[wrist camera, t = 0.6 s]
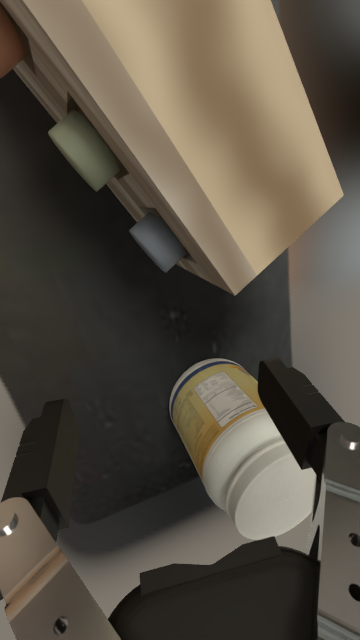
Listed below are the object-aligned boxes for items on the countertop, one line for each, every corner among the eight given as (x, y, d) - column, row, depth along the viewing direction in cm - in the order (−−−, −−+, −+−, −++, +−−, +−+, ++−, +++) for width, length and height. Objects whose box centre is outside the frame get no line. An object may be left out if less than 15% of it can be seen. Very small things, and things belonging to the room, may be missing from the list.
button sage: (94, 192, 22) (100, 190, 18) (49, 139, 20) (45, 124, 16) (114, 174, 22) (124, 168, 18) (71, 119, 20) (72, 100, 16)
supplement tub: (254, 400, 45) (346, 497, 30) (185, 443, 43) (248, 568, 28) (230, 338, 40) (330, 418, 25) (151, 384, 38) (206, 501, 23)
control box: (167, 259, 33) (235, 295, 20) (-35, 10, 21) (-199, -308, 8) (233, 199, 33) (343, 195, 20) (68, -80, 22) (71, -530, 8)
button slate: (157, 267, 26) (172, 277, 22) (124, 228, 24) (135, 232, 20) (174, 251, 26) (192, 259, 22) (143, 211, 24) (157, 212, 20)
